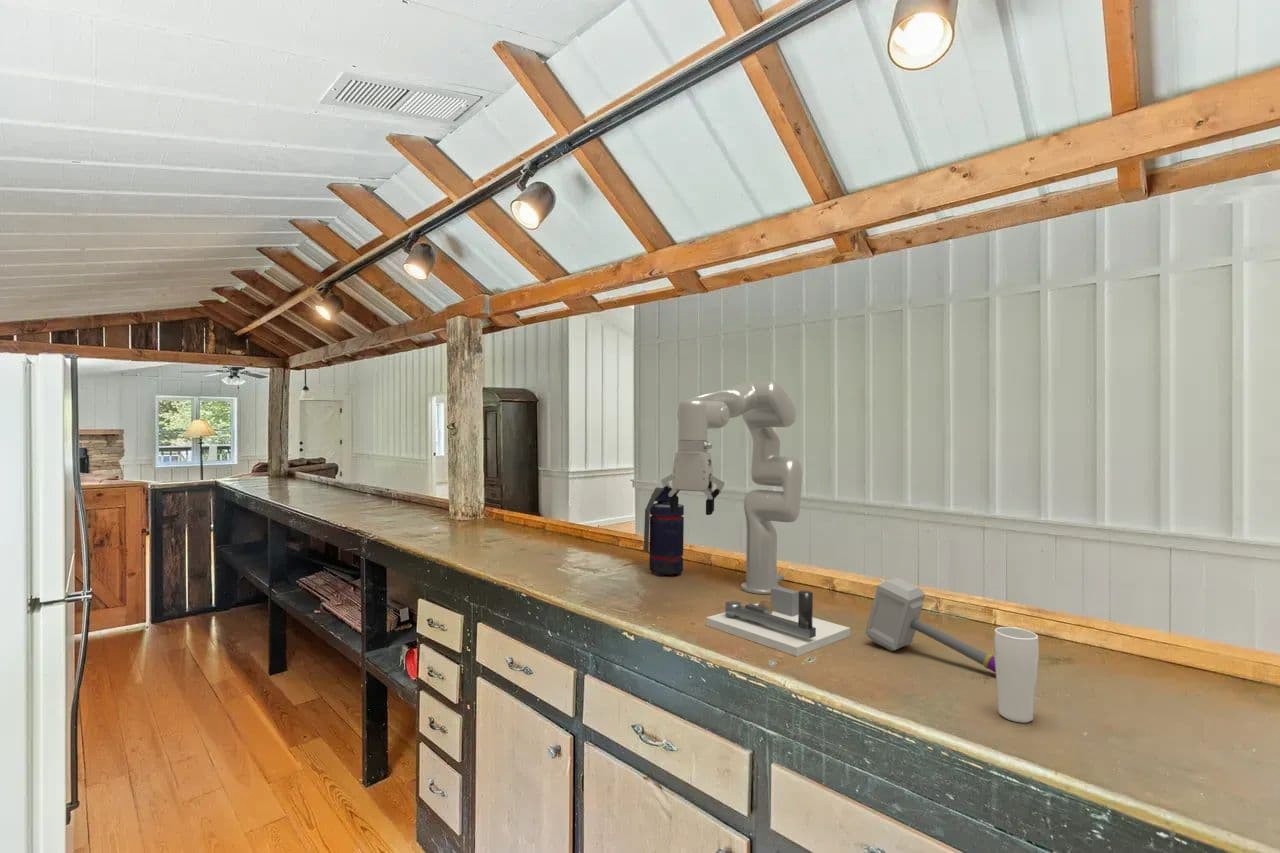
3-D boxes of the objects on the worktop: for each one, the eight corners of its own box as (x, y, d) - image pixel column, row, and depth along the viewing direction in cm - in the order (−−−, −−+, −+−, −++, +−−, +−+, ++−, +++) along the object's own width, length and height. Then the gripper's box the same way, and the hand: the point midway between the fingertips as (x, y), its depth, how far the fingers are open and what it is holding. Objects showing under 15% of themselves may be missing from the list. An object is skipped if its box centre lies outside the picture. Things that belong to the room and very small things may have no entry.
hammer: (1032, 637, 126) (895, 574, 148) (1018, 645, 121) (879, 579, 143) (1011, 702, 129) (880, 631, 151) (997, 713, 124) (863, 638, 146)
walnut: (753, 616, 159) (754, 600, 159) (763, 613, 162) (763, 597, 162) (766, 619, 156) (766, 604, 156) (776, 616, 159) (776, 601, 159)
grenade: (675, 568, 224) (676, 486, 224) (688, 576, 212) (689, 489, 212) (639, 570, 219) (640, 486, 220) (650, 578, 208) (651, 490, 208)
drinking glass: (985, 708, 113) (985, 626, 113) (1020, 707, 113) (1020, 626, 113) (1010, 726, 106) (1011, 639, 106) (1047, 725, 106) (1048, 638, 106)
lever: (722, 614, 160) (722, 574, 160) (735, 610, 163) (735, 571, 164) (807, 641, 140) (808, 595, 140) (820, 636, 144) (821, 591, 144)
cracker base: (705, 625, 159) (706, 594, 159) (760, 609, 173) (760, 581, 173) (796, 656, 138) (797, 620, 138) (850, 636, 152) (850, 603, 152)
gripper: (729, 448, 160) (728, 514, 160) (668, 446, 168) (667, 509, 168) (719, 448, 153) (718, 517, 153) (656, 446, 161) (655, 512, 161)
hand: (691, 513), depth 160 cm, fingers open, 9 cm apart
